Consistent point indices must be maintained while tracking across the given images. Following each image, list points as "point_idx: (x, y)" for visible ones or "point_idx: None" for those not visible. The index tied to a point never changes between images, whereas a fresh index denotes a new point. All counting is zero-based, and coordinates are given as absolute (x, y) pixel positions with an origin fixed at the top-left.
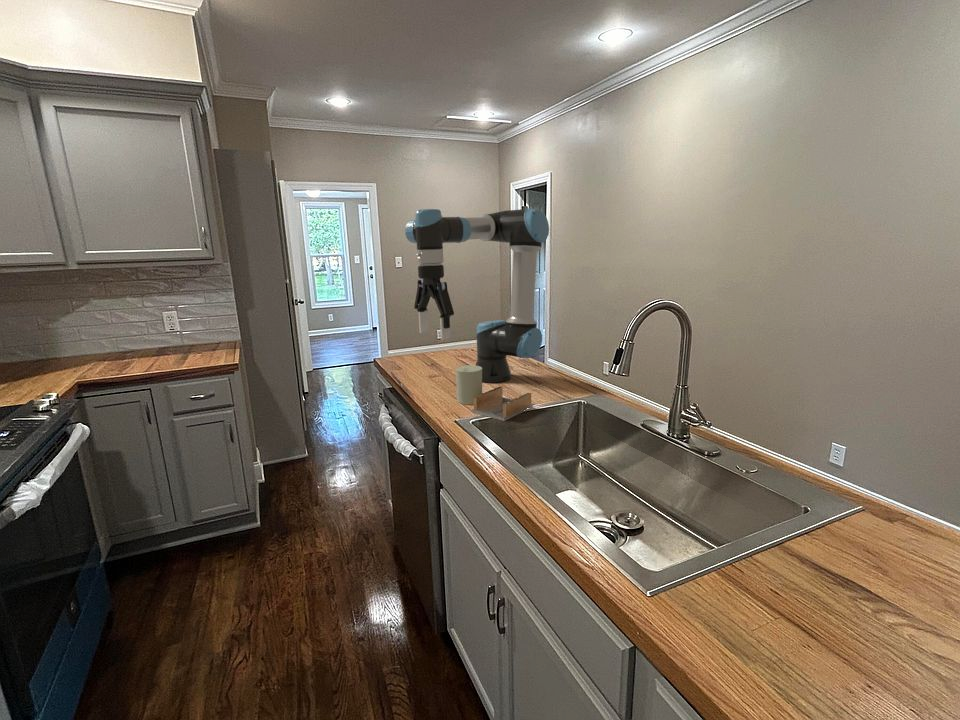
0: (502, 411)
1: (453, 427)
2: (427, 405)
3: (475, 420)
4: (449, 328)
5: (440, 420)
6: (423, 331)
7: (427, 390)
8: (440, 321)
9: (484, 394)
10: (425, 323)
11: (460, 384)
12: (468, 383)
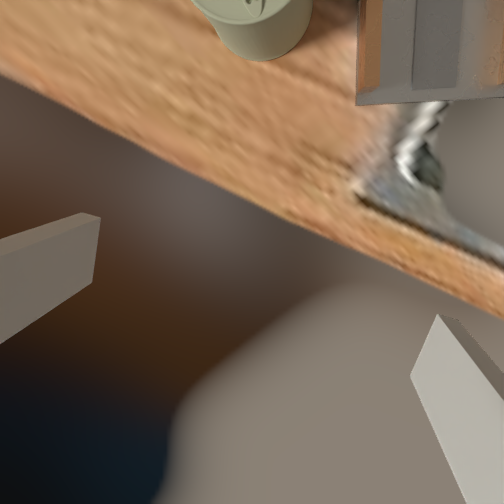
0: (467, 43)
1: (390, 240)
2: (185, 151)
3: (412, 154)
4: (494, 369)
5: (318, 223)
6: (89, 262)
7: (54, 29)
8: (470, 499)
9: (381, 28)
10: (53, 261)
11: (252, 40)
12: (288, 21)
